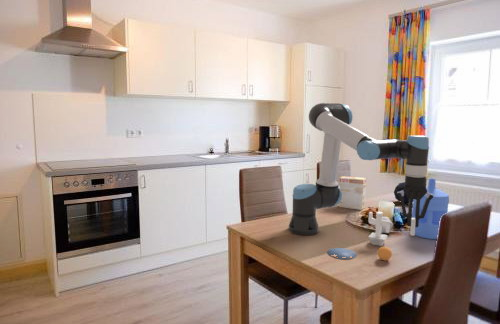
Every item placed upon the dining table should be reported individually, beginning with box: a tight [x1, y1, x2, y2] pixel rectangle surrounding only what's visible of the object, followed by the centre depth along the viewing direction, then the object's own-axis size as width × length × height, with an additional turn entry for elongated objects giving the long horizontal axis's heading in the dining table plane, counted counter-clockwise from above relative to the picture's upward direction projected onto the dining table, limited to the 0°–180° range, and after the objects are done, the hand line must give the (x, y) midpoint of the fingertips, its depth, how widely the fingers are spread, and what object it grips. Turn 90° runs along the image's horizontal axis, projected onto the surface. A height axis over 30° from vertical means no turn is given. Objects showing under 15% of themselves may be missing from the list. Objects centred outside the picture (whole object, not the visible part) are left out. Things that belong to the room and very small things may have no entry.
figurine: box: [368, 211, 391, 247], centre depth 161 cm, size 7×9×15 cm
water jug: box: [412, 178, 450, 240], centre depth 173 cm, size 16×16×28 cm
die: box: [373, 216, 394, 234], centre depth 177 cm, size 8×9×10 cm
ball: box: [376, 246, 393, 261], centre depth 144 cm, size 6×6×6 cm
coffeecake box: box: [338, 175, 367, 211], centre depth 223 cm, size 15×7×20 cm, turn 58°
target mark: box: [327, 247, 357, 260], centre depth 150 cm, size 12×12×1 cm
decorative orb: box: [393, 181, 409, 205], centre depth 236 cm, size 14×15×15 cm
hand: (412, 234), depth 138 cm, fingers closed
